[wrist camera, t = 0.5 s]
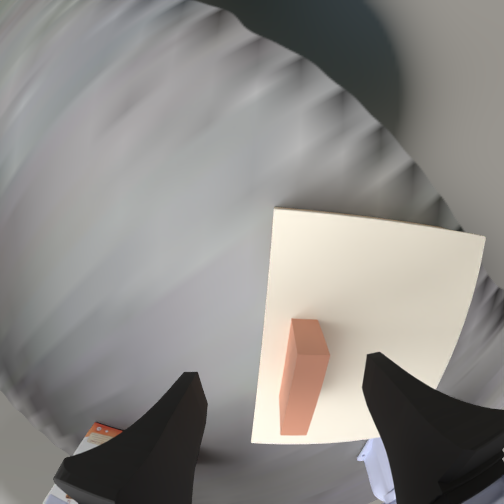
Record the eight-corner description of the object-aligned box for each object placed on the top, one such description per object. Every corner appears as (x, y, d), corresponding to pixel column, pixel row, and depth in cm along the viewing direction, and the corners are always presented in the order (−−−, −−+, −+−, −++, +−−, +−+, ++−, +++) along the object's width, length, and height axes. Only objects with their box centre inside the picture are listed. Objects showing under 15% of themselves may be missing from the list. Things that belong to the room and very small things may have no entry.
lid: (409, 426, 18) (423, 457, 14) (251, 437, 18) (248, 476, 14) (480, 235, 13) (520, 249, 9) (274, 208, 14) (277, 217, 10)
